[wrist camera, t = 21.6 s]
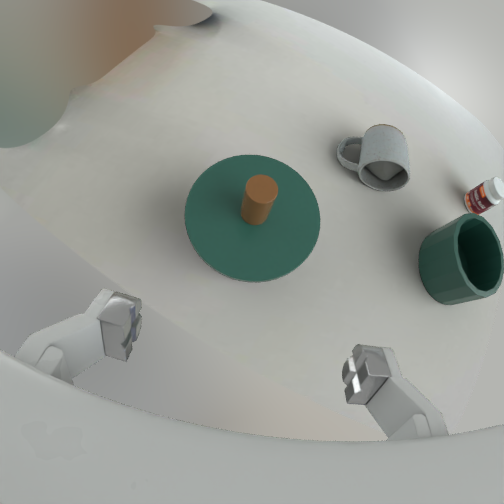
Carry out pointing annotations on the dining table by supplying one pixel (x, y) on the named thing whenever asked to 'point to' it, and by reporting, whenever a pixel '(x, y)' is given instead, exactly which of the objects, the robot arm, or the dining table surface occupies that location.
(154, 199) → the dining table surface
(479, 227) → the tin
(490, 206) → the pill bottle
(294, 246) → the tin lid
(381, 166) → the ceramic mug
